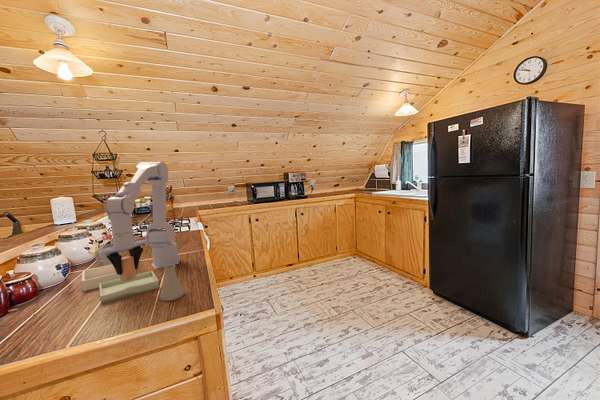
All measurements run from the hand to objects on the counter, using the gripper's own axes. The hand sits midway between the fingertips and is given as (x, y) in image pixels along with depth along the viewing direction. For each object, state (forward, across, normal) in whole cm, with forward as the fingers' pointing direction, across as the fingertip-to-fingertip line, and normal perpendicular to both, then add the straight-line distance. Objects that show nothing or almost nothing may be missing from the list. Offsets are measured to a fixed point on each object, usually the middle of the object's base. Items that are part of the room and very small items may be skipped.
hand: (127, 271), depth 88 cm
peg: (+2, 0, 0) cm, 2 cm away
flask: (+7, -3, +19) cm, 20 cm away
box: (+6, 0, -16) cm, 17 cm away
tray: (+6, 0, 0) cm, 6 cm away
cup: (+7, -10, -34) cm, 36 cm away
